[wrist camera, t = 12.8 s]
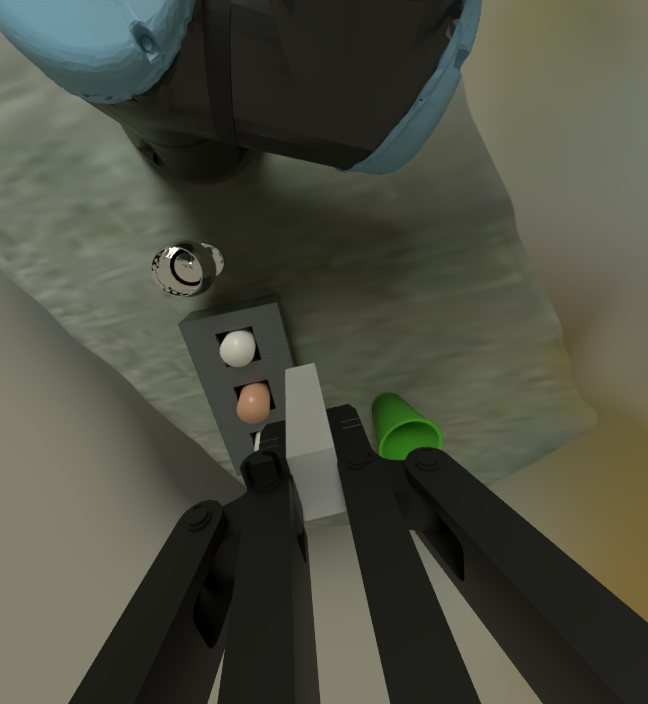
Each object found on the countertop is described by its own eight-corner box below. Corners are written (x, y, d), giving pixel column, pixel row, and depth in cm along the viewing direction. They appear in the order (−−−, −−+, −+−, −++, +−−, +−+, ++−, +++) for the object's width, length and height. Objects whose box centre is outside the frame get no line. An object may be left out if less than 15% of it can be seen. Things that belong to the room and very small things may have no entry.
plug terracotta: (240, 375, 45) (232, 400, 38) (267, 369, 45) (264, 392, 38) (247, 399, 46) (242, 426, 40) (274, 393, 46) (272, 419, 40)
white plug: (225, 323, 43) (215, 340, 37) (253, 317, 43) (248, 332, 37) (234, 350, 45) (225, 370, 38) (261, 344, 45) (257, 363, 38)
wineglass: (174, 266, 40) (133, 279, 29) (196, 228, 39) (162, 226, 28) (215, 292, 42) (190, 313, 31) (237, 256, 41) (220, 265, 30)
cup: (366, 434, 53) (385, 482, 43) (354, 389, 50) (373, 430, 40) (415, 419, 54) (446, 463, 43) (408, 374, 50) (439, 410, 40)
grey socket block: (191, 311, 42) (178, 323, 37) (277, 293, 43) (276, 302, 37) (242, 449, 52) (237, 476, 46) (312, 433, 52) (316, 457, 46)
